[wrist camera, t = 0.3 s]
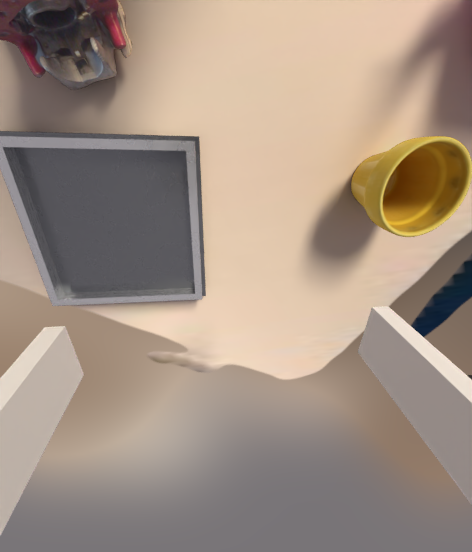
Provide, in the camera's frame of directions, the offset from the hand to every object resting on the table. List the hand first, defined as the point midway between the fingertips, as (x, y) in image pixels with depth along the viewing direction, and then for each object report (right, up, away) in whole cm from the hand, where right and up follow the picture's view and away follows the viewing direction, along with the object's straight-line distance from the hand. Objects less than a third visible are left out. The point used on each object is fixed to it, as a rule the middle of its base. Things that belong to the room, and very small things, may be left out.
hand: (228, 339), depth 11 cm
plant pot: (+20, +16, +24) cm, 36 cm away
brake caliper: (-16, +28, +14) cm, 35 cm away
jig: (-15, +10, +23) cm, 29 cm away
